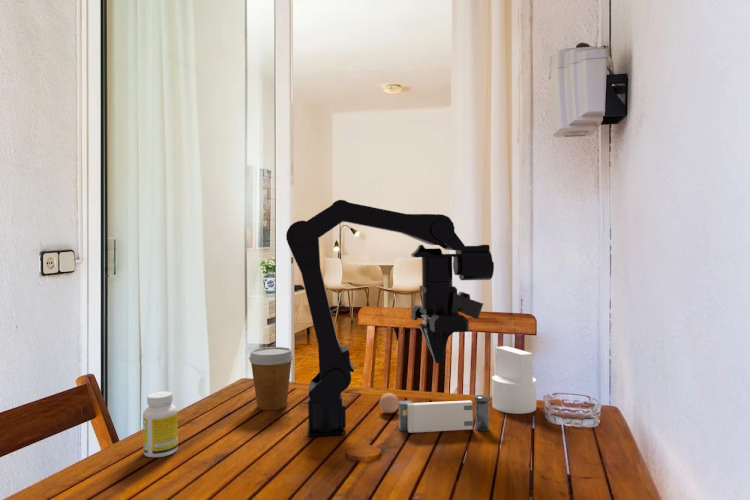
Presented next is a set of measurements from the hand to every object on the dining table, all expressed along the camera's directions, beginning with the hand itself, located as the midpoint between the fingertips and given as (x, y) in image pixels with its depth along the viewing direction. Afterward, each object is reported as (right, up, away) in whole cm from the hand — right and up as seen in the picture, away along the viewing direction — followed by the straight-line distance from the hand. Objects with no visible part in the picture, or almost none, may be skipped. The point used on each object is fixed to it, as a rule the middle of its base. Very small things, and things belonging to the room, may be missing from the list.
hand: (438, 362), depth 101 cm
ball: (-8, -8, +8) cm, 14 cm away
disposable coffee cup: (-34, -13, +14) cm, 39 cm away
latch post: (-6, -12, -2) cm, 14 cm away
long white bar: (0, -12, -3) cm, 12 cm away
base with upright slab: (+17, -12, +11) cm, 24 cm away
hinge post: (+8, -12, -2) cm, 14 cm away
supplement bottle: (-48, -13, -11) cm, 51 cm away
